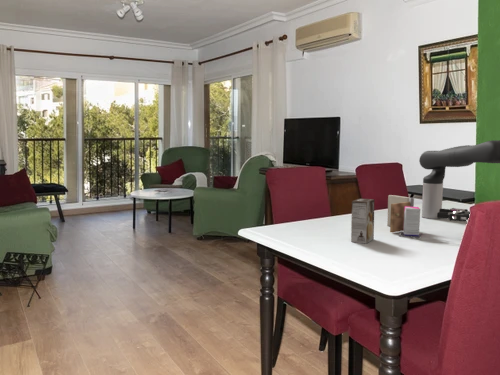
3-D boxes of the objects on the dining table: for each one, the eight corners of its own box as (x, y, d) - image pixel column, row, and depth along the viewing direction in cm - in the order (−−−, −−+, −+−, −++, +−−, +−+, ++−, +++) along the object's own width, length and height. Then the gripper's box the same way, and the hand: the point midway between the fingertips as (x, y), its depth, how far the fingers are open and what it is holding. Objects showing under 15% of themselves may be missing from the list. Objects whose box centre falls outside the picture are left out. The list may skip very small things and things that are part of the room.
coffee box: (358, 237, 184) (359, 198, 182) (374, 239, 180) (375, 199, 179) (350, 242, 176) (351, 200, 174) (366, 244, 173) (367, 202, 171)
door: (407, 229, 197) (408, 201, 196) (411, 230, 195) (412, 202, 194) (390, 232, 191) (390, 203, 190) (394, 233, 189) (395, 204, 188)
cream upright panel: (390, 225, 208) (391, 195, 206) (413, 230, 197) (414, 198, 196) (387, 225, 207) (388, 195, 205) (410, 230, 196) (411, 198, 195)
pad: (401, 232, 192) (401, 232, 192) (422, 234, 189) (422, 233, 189) (398, 236, 185) (398, 235, 185) (419, 238, 182) (419, 237, 182)
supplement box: (419, 236, 184) (420, 208, 182) (404, 236, 185) (405, 208, 184) (417, 233, 189) (418, 206, 188) (402, 233, 191) (403, 206, 189)
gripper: (484, 204, 181) (440, 201, 188) (484, 210, 168) (437, 206, 176) (483, 222, 182) (439, 218, 189) (482, 230, 169) (436, 225, 177)
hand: (438, 213), depth 182 cm, fingers open, 8 cm apart
